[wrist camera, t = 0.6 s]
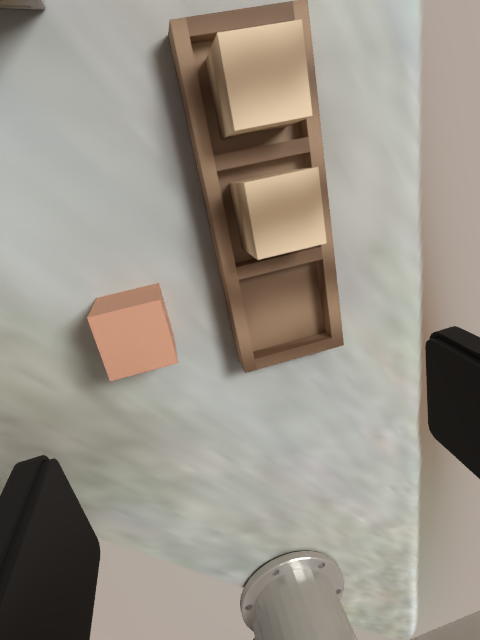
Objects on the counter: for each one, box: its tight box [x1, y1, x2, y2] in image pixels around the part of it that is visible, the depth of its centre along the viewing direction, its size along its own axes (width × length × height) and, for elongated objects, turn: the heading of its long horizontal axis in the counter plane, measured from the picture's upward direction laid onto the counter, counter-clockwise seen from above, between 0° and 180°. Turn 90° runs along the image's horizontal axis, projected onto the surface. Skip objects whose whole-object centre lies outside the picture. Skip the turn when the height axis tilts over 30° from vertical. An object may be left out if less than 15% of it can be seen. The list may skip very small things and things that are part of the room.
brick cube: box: [87, 283, 178, 381], centre depth 30 cm, size 5×5×5 cm
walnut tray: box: [168, 0, 344, 373], centre depth 28 cm, size 25×9×6 cm, turn 11°
